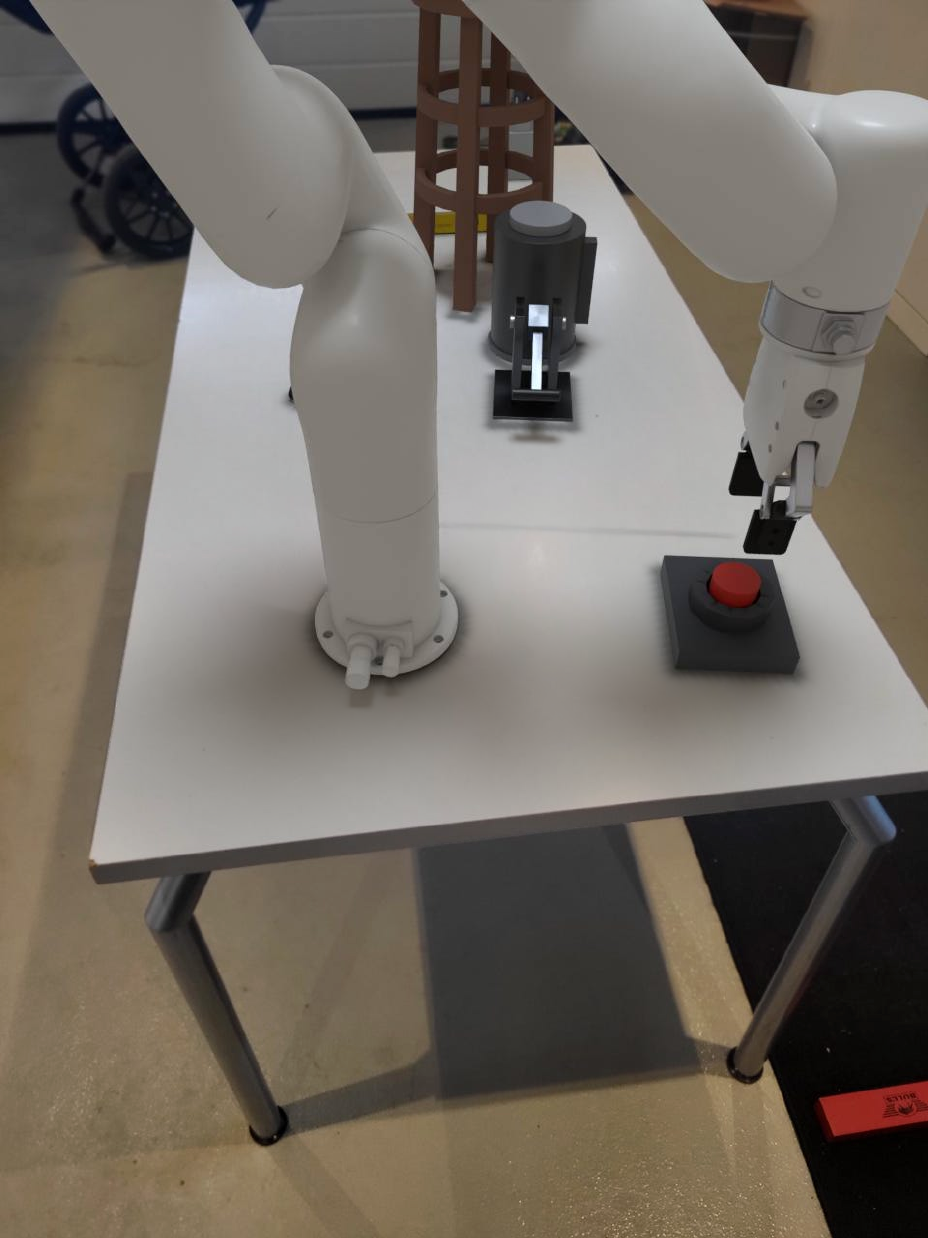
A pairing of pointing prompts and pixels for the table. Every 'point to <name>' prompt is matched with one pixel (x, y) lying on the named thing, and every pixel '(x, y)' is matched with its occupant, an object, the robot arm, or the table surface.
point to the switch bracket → (522, 378)
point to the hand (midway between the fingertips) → (755, 520)
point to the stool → (474, 140)
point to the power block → (726, 620)
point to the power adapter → (520, 144)
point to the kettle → (540, 273)
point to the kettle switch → (537, 356)
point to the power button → (734, 584)
